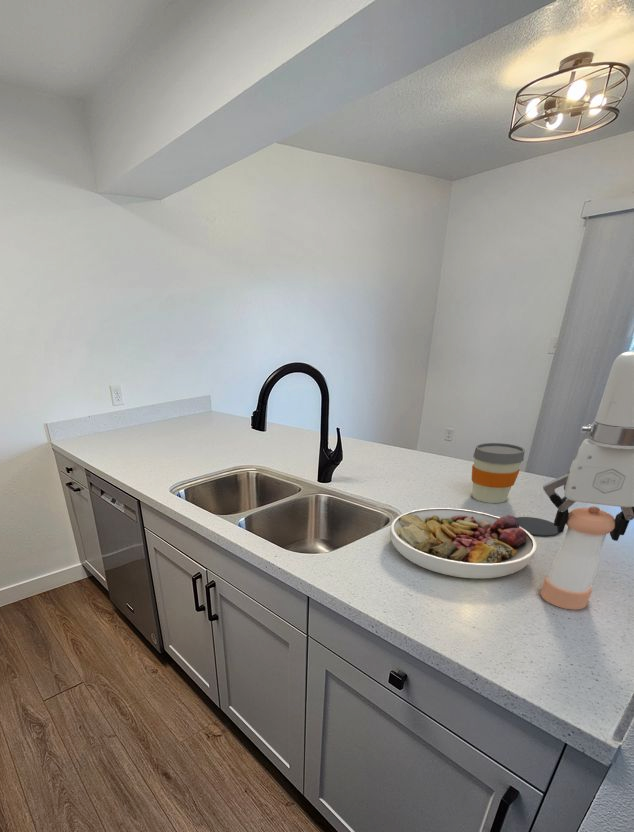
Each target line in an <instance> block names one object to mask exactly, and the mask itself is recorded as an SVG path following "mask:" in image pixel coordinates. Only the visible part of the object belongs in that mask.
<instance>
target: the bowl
mask: <svg viewBox="0 0 634 832" xmlns="http://www.w3.org/2000/svg"><path fill="white" fill-rule="evenodd" d="M516 518H517V517H516V516H514V515H509V514H508V515H504V516H496V515H493V514H489V513H486V512H481V511H476V510H470V509H464V508H454V507H453V508H451V507H430V508H429V507H427V508H420V509H415V510H414V509H413V510H411V511H407V512H404V513H402V514H400V515H398V516H396V517H395V518H394V520H393V521H392V522H391V524H390V529H389V532H390V533H389V534H390V541H391V542H392V545H393V546H394V548H395V549H396V550H397V552H399V553H400V555H401V556H403V557H404V558H405V559H407V560H408V561H409V562H411V563H413V564H415V565H416V566H419V567H422V568H424V569H426V570H429V571H431V572H435V573H437V574H442V575H445V576H450V577H457V578H462V579H463V578H465V579H495V578H501V577H505V576H509V575H512V574H514V573H517V572H519V571H522V569H524V568H525V567H526V566H528V565H529V564H530V563H531V562H532V560H534V557H535V555H536V553H537V548H538V543H537V540H536V539H535V538H534V535H531V534H530V533H529V532H528V531H526V530H525V529H523V528H522V527H520V526H519V522H518V520H517V519H516Z"/></svg>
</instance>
